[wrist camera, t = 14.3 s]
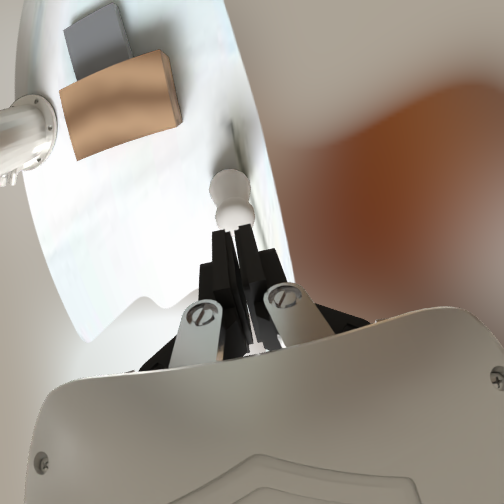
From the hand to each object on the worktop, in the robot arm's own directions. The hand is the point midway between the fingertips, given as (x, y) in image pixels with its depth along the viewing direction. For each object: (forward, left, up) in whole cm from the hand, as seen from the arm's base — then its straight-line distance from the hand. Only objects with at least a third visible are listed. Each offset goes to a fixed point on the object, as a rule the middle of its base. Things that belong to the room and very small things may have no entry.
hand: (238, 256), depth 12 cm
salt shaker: (-4, -4, -29) cm, 30 cm away
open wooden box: (-1, +15, -29) cm, 33 cm away
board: (+3, +22, -30) cm, 37 cm away
